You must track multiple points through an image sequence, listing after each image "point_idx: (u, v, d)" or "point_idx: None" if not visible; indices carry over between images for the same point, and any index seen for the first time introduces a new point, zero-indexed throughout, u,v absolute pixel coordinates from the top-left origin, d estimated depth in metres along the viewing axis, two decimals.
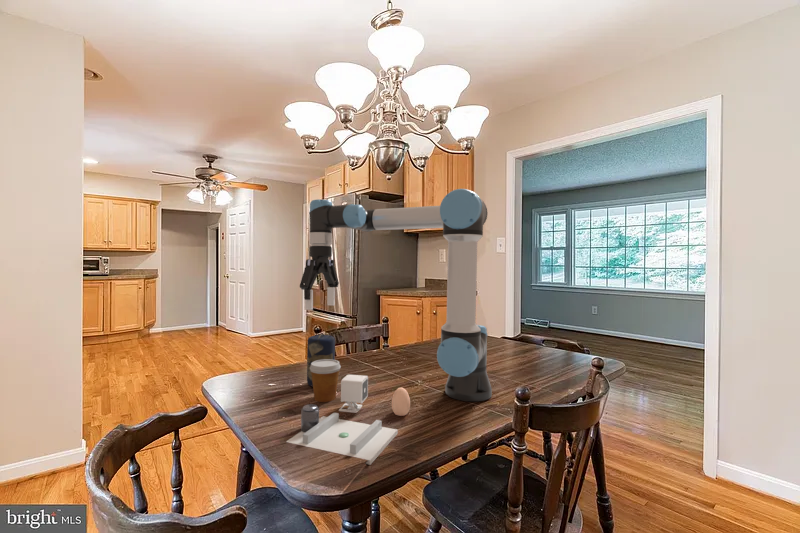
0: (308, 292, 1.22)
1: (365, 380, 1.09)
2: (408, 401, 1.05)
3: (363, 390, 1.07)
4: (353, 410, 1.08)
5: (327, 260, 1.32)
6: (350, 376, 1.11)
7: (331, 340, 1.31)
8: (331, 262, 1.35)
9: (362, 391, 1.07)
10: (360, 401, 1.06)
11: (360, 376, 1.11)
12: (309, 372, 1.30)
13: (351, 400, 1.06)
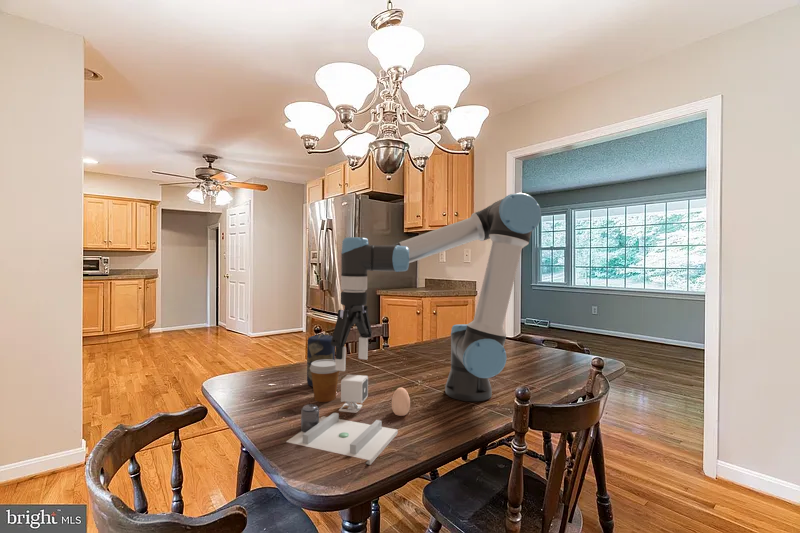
0: (340, 350, 1.02)
1: (365, 380, 1.09)
2: (408, 401, 1.05)
3: (363, 390, 1.07)
4: (353, 410, 1.08)
5: (361, 307, 1.11)
6: (350, 376, 1.11)
7: (331, 340, 1.31)
8: (364, 309, 1.14)
9: (362, 391, 1.07)
10: (360, 401, 1.06)
11: (360, 376, 1.11)
12: (309, 372, 1.30)
13: (351, 400, 1.06)
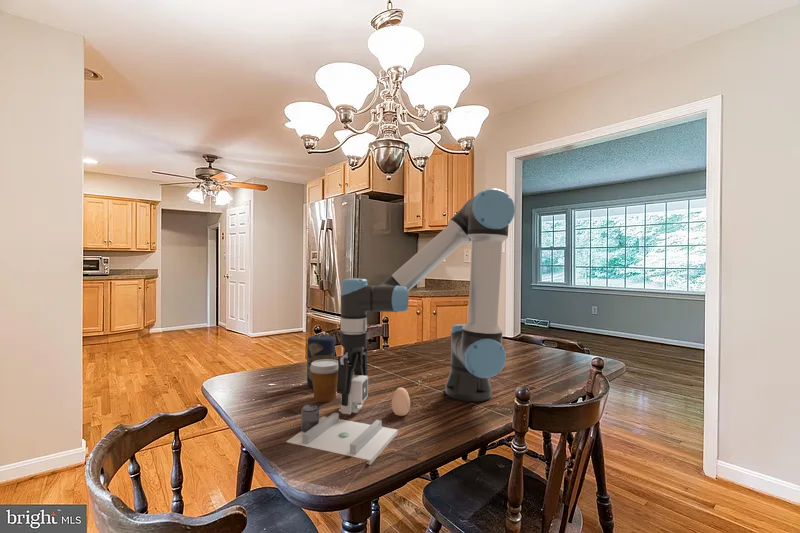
0: (346, 397, 1.05)
1: (365, 380, 1.09)
2: (408, 401, 1.05)
3: (363, 390, 1.07)
4: (353, 410, 1.08)
5: (361, 347, 1.12)
6: None
7: (331, 340, 1.31)
8: (364, 351, 1.14)
9: (362, 391, 1.07)
10: (360, 401, 1.06)
11: (360, 376, 1.11)
12: (309, 372, 1.30)
13: (351, 400, 1.06)
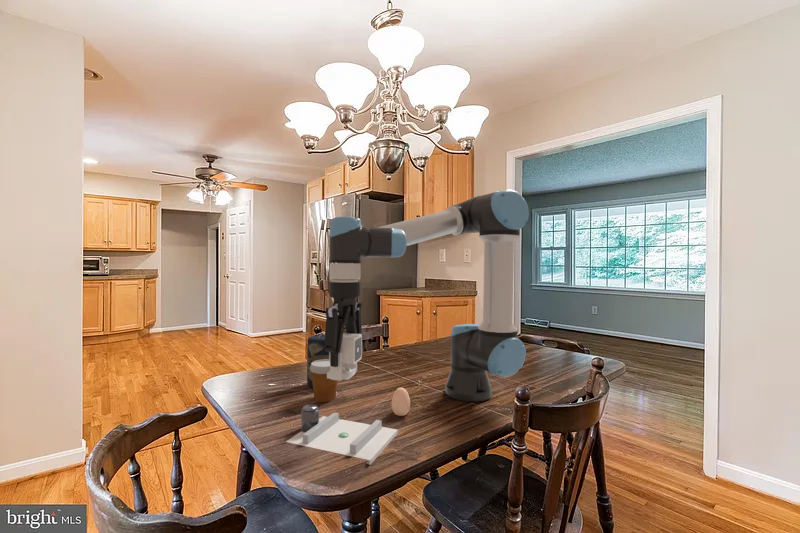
0: (336, 356, 0.87)
1: (358, 338, 0.92)
2: (408, 401, 1.05)
3: (356, 349, 0.90)
4: (344, 373, 0.90)
5: (354, 300, 0.94)
6: None
7: None
8: (358, 306, 0.97)
9: (354, 350, 0.89)
10: (352, 361, 0.89)
11: (352, 334, 0.94)
12: (309, 372, 1.30)
13: None
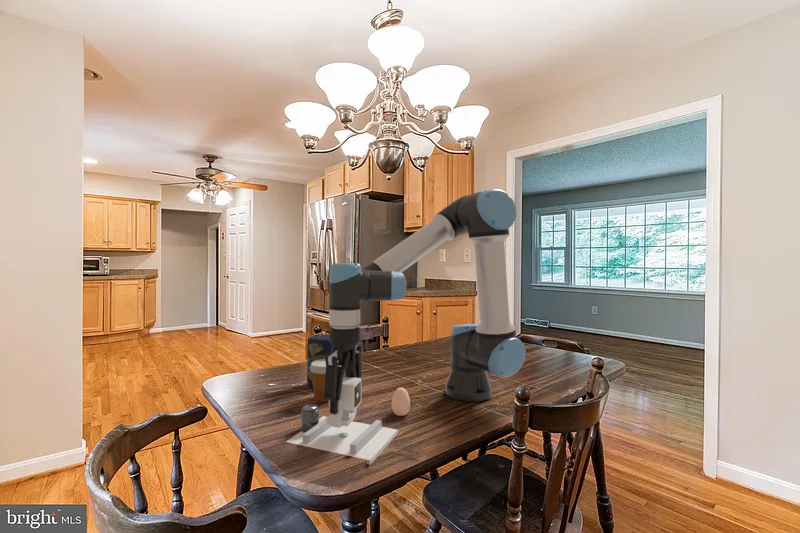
0: (335, 404, 0.88)
1: (358, 383, 0.92)
2: (408, 401, 1.05)
3: (355, 395, 0.90)
4: (343, 419, 0.90)
5: (353, 344, 0.94)
6: None
7: None
8: (357, 349, 0.97)
9: (354, 396, 0.89)
10: (352, 408, 0.89)
11: (352, 378, 0.94)
12: (309, 372, 1.30)
13: None
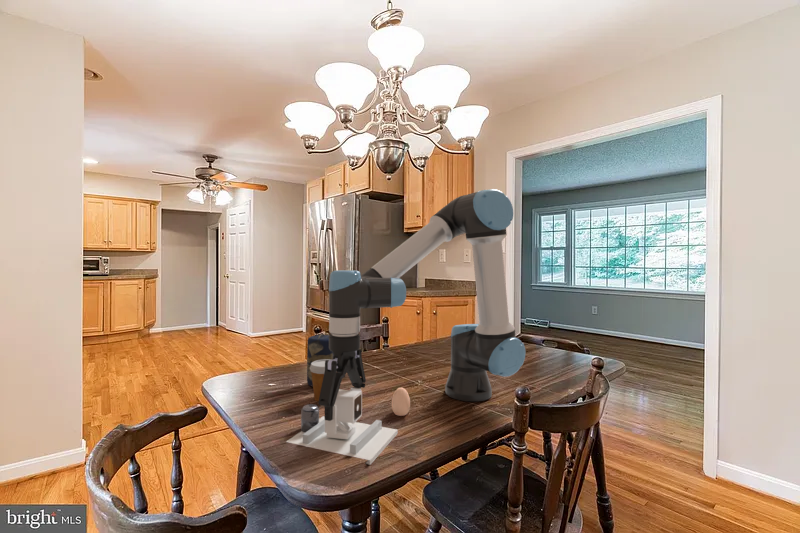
0: (330, 410, 0.85)
1: (358, 396, 0.93)
2: (408, 401, 1.05)
3: (355, 408, 0.91)
4: (344, 432, 0.91)
5: (353, 352, 0.94)
6: (342, 391, 0.95)
7: None
8: (358, 353, 0.97)
9: (354, 409, 0.90)
10: (351, 421, 0.89)
11: (353, 391, 0.94)
12: (309, 372, 1.30)
13: (341, 420, 0.90)
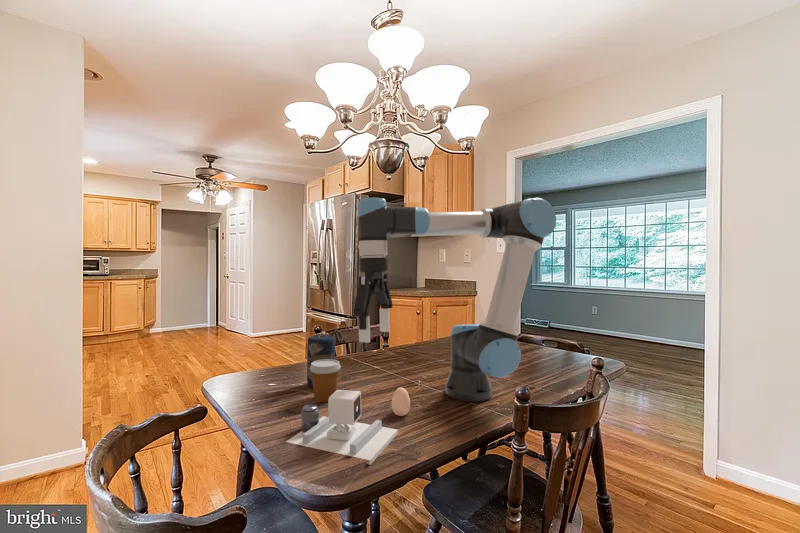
0: (364, 320, 0.93)
1: (357, 397, 0.92)
2: (408, 401, 1.05)
3: (355, 409, 0.90)
4: (344, 433, 0.90)
5: (381, 275, 1.03)
6: (340, 392, 0.94)
7: (331, 340, 1.31)
8: (384, 277, 1.06)
9: (353, 411, 0.89)
10: (351, 423, 0.89)
11: (351, 391, 0.94)
12: (309, 372, 1.30)
13: (341, 422, 0.89)
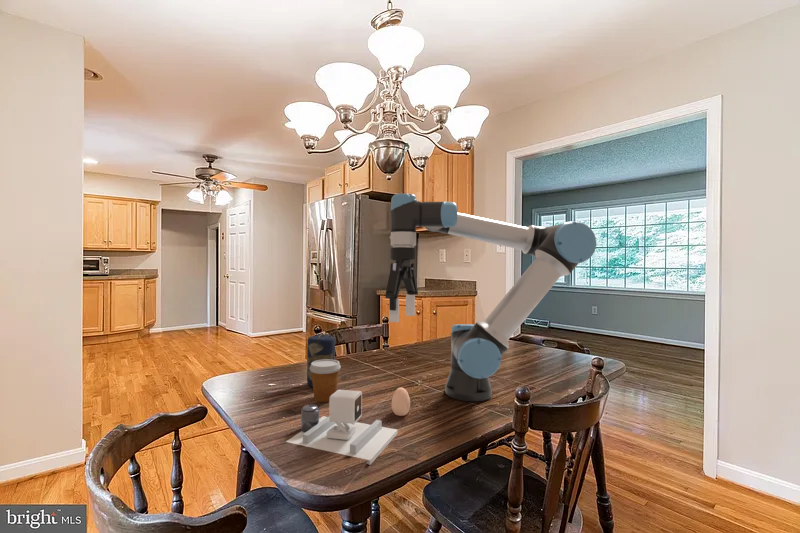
0: (394, 301, 1.05)
1: (358, 396, 0.92)
2: (408, 401, 1.05)
3: (356, 408, 0.91)
4: (344, 432, 0.90)
5: (409, 264, 1.14)
6: (341, 391, 0.94)
7: (331, 340, 1.31)
8: (411, 266, 1.17)
9: (354, 410, 0.90)
10: (352, 422, 0.89)
11: (353, 391, 0.94)
12: (309, 372, 1.30)
13: (341, 420, 0.89)
